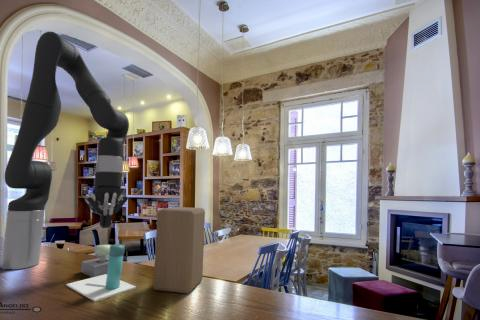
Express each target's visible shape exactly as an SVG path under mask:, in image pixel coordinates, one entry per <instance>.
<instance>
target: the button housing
mask: <svg viewBox="0 0 480 320" xmlns="http://www.w3.org/2000/svg"><path fill="white" fill-rule="evenodd" d="M108 263H109V255H106V261H105V262H102V263H99V257H97V258H93V259H92V258H91V259H88V260H83V261H81V266H80V268H81V269H80V273H82V274H84V275H86V276H89V277H90V278H92V277H96V276H100V275H104V274H107V270H108Z"/></svg>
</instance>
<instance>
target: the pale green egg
mask: <svg viewBox="0 0 480 320" xmlns="http://www.w3.org/2000/svg"><path fill="white" fill-rule="evenodd" d="M111 245H112V244H97V245H95V246H94V256H95V257H98V258H99V263H102V262H105V261H106V257H107V256H109V251H110V246H111Z"/></svg>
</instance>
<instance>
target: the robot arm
mask: <svg viewBox="0 0 480 320" xmlns="http://www.w3.org/2000/svg"><path fill="white" fill-rule="evenodd" d="M57 67H58V68H61V69H63V70H64V71H65V72H66V73H67V74H69V76H71V78H72V79H73V81H74V85H75V88H76V91H77V93H78V95H79V97H80V98H81V99H82V101H83V102H84V103H85V105H87V107H88V108H89V112H90V114H91V115H92V118H93V119H94V121H95V123H97V125H99V127H101V128H102V129H104V130H107V134H106V136H105V137H102V138H100V140H99V141H98V149H97V159H96V162H95V173H94V189H92V193H91V194H90V195H89V196H85V197H84V198H83V199H84V201H85V203H86V204H87V205H88V207H89V209H90V210H91V211H92V212H93V213H94V214H98V215H99V216H100V217H99V227H100V228H101V229H108V228H110V227H111V225H112V218H113V214H116V213H119V211H120V210H121V209H122V208H123V206H124V205H125V204H126V202H127V201H128V200H129V198H128V196H125V195H124V194H123V191H122V184H123V183H122V181H123V171H124V170H123V168H124V167H123V166H124V163H123V161H124V159H123V156H124V155H123V154H124V143H125V141H126V139H127V135H128V132H129V128H130V123H129V117H128V116H127V115H126V114H125V113H124V112H122V111H120V110H119V109H116V108H115V107H114V106H113V105H112V104H111V103H112V102H111V98H110V96H109V95H108V93H107V92H106V91H105V90H104V89H103V87H102V86H101V85H100V84H99V82H98V81H97V80H96V78H94V76H93V74H92V72H91V71H90V70H89V68H88V66H87V65H86V62H85V61H84V59H83V57H82V55H81V53H80V51H79V49H78V48H77V47H76V46H75V45H74V44H73V43H71V42H70V41H68V40H67V39H65V38H64V37H63V36H61V35H60V34H58V33H56V32H55V31H45V32H44V33H43V34H41V35H40V37H39V39H38V40H37V43H36V46H35V52H34V62H33V70H32V77H31V81H30V86H29V90H28V93H27V98H26V99H25V104H24V107H23V112H22V117H21V121H20V126H19V129H18V133H17V137H16V141H15V143H14V146H13V148H12V151H11V154H10V156H9V159H8V162H7V163H6V167H5V172H4V182H5V184H6V186H7V187H8V188H9V189H17V190H18V189H20V190H21V189H22V190H26V191H25V193H24V194H23V195H22V196H20V197H18V198H15V199H13V200H10V201H9V202H8V204H7V205H8V206H7V214H6V222H5V230H4V239H3V246H2V253H1V261H0V269H1V268H3V269H2V270H5V269H12V270H21V269H26V268H32V267H34V266H37V265H38V264H40V259H41V258H40V257H41V247H42V239H43V230H44V229H43V228H44V220H45V210H46V209H45V208H46V205H47V203H48V201H49V197H50V192H51V186H52V181H53V170H52V167H51V166H50V164H49V163H48V162H45V161H38V160H33V157H34V154H35V152H36V149H37V147H38V146H39V144H40V143H41V142H42V141H43V140H44V139H45V138H46V137H47V136H48V135H50V133H52V132H53V131H54V130H55V129H56V127H57V125H58V122H59V119H60V115H61V110H62V100H61V96H60V93H59V89H58V86H57V82H56V81H57V80H56V74H57ZM96 202H97V203H98V204H97V203H96Z"/></svg>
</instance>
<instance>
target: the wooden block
mask: <svg viewBox="0 0 480 320" xmlns="http://www.w3.org/2000/svg"><path fill="white" fill-rule="evenodd" d="M205 217H206V210H205V208H203V207H188V206H187V207H185V206H173V207H166V208H160V209H158V211H157V218H156V235H155V253H154V269H153V284H152V285H153V287H152V288H153V290H155V291H163V292H172V293H173V292H174V293H181V294H190V293H191V292H192V291H193V290H194V289H195V288H196V287H197V286H198V285H199V284H200V283H201V282H202V280H203V273H204V272H203V269H204V249H205V248H204V246H205V245H204V244H205V222H206V221H205V220H206V219H205Z"/></svg>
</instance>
